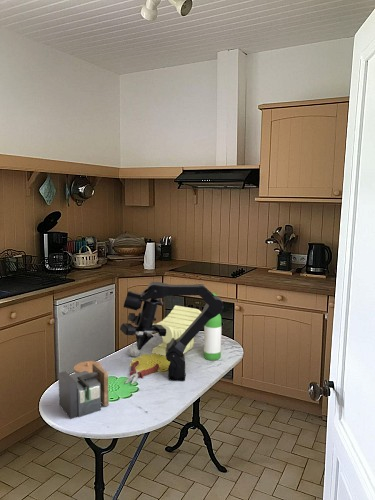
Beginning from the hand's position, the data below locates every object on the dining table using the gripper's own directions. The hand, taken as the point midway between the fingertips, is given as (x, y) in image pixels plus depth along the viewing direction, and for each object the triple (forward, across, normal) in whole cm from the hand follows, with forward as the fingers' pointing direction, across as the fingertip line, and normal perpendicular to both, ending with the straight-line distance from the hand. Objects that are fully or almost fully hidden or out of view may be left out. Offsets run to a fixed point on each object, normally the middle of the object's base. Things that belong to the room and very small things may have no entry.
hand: (138, 349), depth 169 cm
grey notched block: (+17, +25, +11) cm, 32 cm away
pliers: (+13, -4, -3) cm, 14 cm away
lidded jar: (+17, +16, -3) cm, 24 cm away
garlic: (+13, -12, -20) cm, 27 cm away
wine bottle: (+4, -40, +1) cm, 40 cm away
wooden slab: (+15, +21, +12) cm, 29 cm away
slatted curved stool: (+8, -29, -15) cm, 34 cm away
